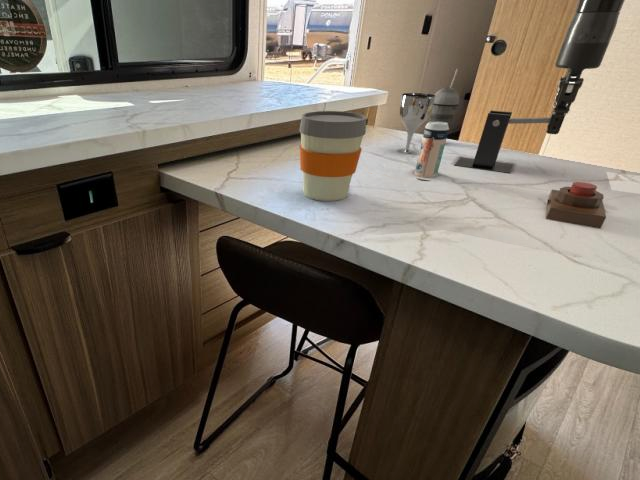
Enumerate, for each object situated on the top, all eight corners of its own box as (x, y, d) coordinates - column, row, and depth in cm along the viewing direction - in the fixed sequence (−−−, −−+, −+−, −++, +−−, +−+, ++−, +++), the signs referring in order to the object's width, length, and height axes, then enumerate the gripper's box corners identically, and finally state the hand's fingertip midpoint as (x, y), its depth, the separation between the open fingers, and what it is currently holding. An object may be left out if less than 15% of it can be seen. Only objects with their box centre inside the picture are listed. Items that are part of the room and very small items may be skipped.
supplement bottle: (412, 175, 97) (424, 120, 91) (433, 176, 96) (447, 121, 90) (415, 181, 93) (428, 124, 87) (437, 182, 92) (452, 125, 86)
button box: (547, 200, 83) (555, 180, 81) (596, 207, 79) (606, 187, 77) (545, 219, 75) (554, 197, 73) (600, 228, 71) (611, 206, 69)
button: (568, 189, 77) (572, 180, 76) (592, 193, 76) (596, 184, 75) (568, 195, 75) (573, 185, 74) (593, 199, 73) (597, 189, 72)
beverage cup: (427, 143, 125) (445, 67, 114) (451, 147, 120) (472, 68, 109) (415, 147, 120) (433, 68, 109) (439, 151, 116) (460, 70, 105)
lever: (559, 124, 92) (562, 112, 90) (558, 127, 88) (562, 115, 87) (490, 125, 98) (493, 114, 97) (488, 128, 95) (490, 117, 94)
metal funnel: (423, 161, 108) (439, 97, 99) (392, 159, 109) (404, 96, 101) (418, 153, 114) (432, 93, 106) (388, 152, 115) (399, 92, 107)
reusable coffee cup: (342, 182, 92) (352, 109, 84) (365, 202, 82) (379, 121, 74) (287, 185, 91) (292, 111, 82) (305, 206, 80) (312, 123, 72)
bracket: (511, 168, 102) (531, 112, 95) (508, 177, 96) (529, 118, 88) (459, 161, 107) (474, 107, 100) (452, 169, 101) (468, 113, 94)
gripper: (613, 41, 75) (573, 139, 84) (607, 39, 85) (572, 127, 94) (563, 41, 78) (530, 135, 88) (563, 39, 88) (533, 124, 98)
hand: (552, 131), depth 91 cm, fingers closed on lever, 5 cm apart
